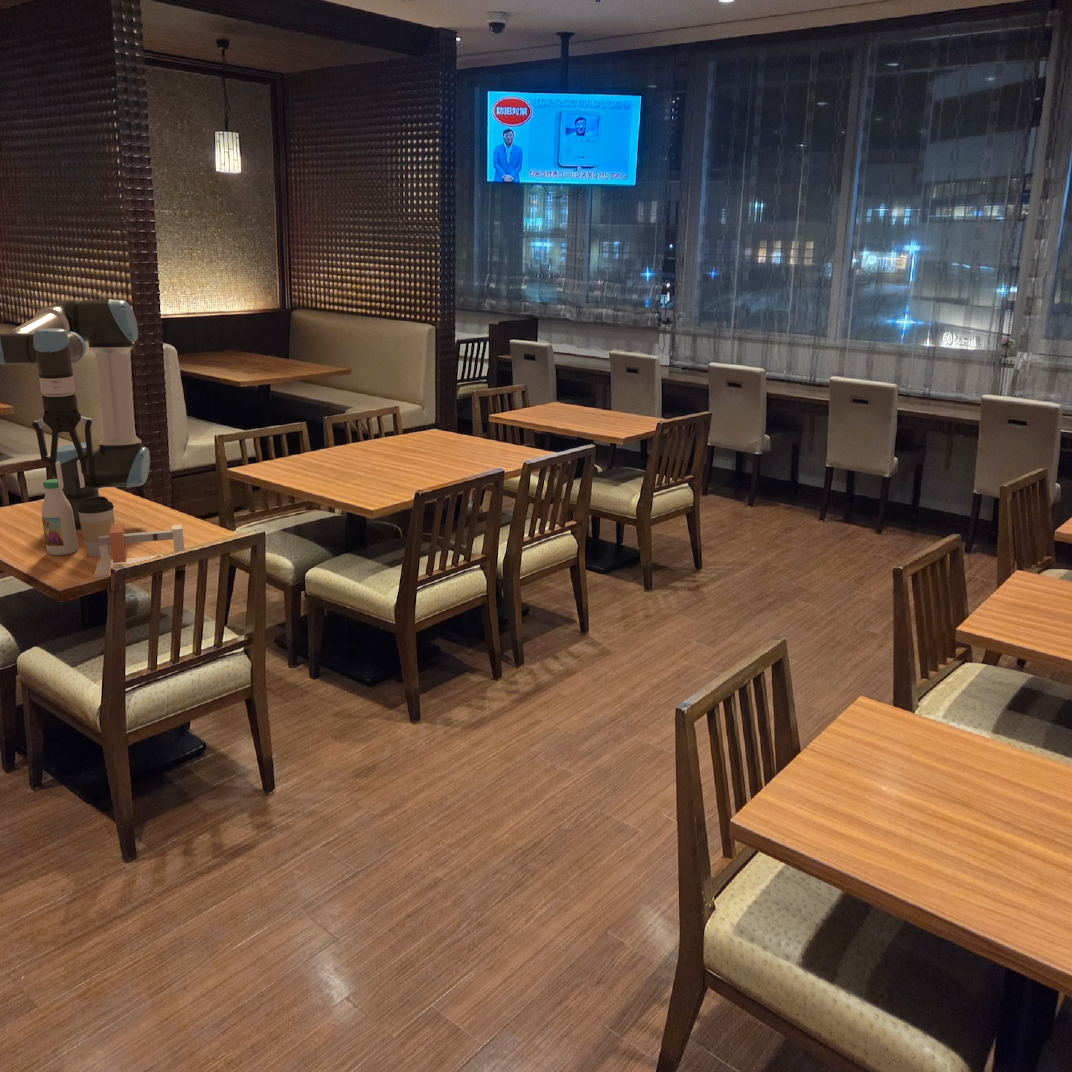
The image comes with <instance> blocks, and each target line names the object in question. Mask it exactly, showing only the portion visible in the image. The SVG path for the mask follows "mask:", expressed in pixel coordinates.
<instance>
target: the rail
mask: <svg viewBox="0 0 1072 1072" xmlns="http://www.w3.org/2000/svg"><path fill="white" fill-rule="evenodd" d="M123 538H124V544H125V543H127V544H136V543H144V542H145V543H146V542H147V543H149V542H159V541H160V542H161V541H170V540H173V551H174V554H175V553H177V552H179V551H184V550H185V549H186V548H185V541H184V531H183V524H181V523H179V524H172V526H171V529H169V530H168V529H167V530H165V529H164V530H155V531H154V530H153V531H142V532H130V533H125V534H124V537H123ZM98 540H99V549H100V556H101V557H100V560H98V561H97V564H96V568H95V572H94V578H95V577H99V578H107V577H109V574H110V571H111V566H114V565H120V564H132V563H137V562H140V561H144V560H149V559H152V558H154V557H162V556H164V555H165V554H163V555H150V556H138V557H127V558H126V562H119V563H113V559H111V558H112V557H111V555H110V549H109V545H111V543H110V536H109V535H105V536H99V538H98ZM185 551H186V550H185ZM187 569H188V565H187V566H186V567H185V569H184V570H187ZM172 571H176V570H175V569H170V570H168V571H167V572H172Z"/></svg>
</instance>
